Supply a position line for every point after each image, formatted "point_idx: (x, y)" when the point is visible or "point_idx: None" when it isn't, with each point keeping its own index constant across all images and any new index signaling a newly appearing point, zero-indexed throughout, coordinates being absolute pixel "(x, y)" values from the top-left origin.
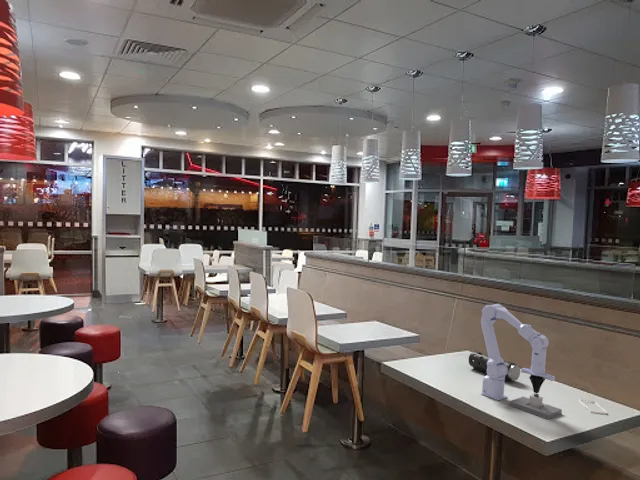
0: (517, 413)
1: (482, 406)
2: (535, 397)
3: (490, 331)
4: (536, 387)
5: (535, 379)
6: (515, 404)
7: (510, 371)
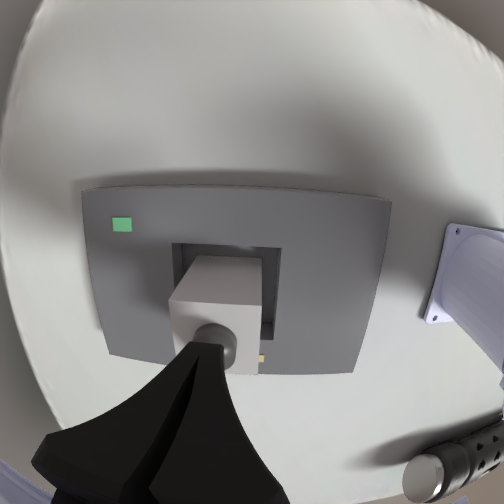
0: (265, 93)
1: (442, 49)
2: (201, 309)
3: None
4: (165, 381)
5: (107, 470)
6: (339, 194)
7: (438, 472)
